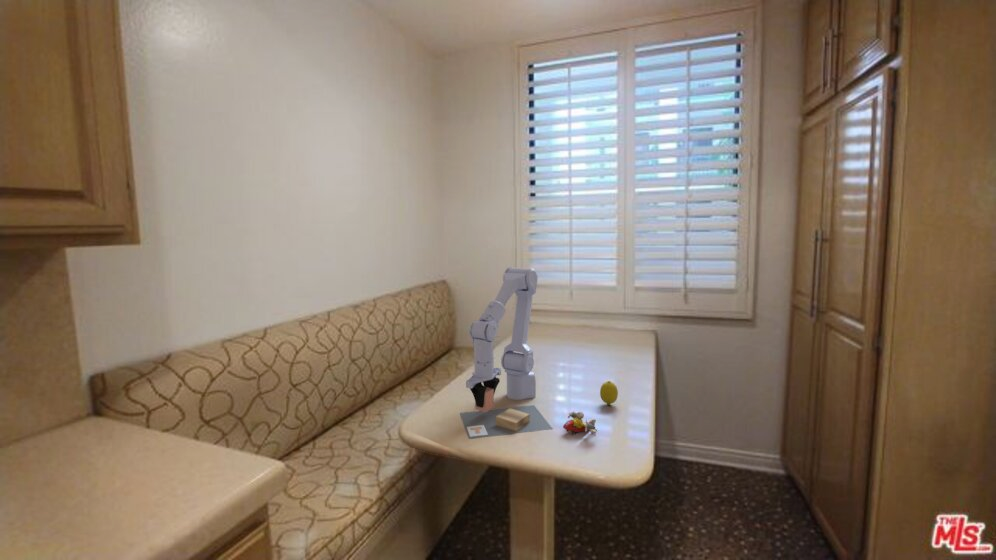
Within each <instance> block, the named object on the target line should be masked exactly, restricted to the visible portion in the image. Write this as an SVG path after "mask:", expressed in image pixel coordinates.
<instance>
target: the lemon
mask: <svg viewBox="0 0 996 560" xmlns="http://www.w3.org/2000/svg"><path fill="white" fill-rule="evenodd" d="M599 391H600V392H599V395H600V398H601V400H602V402H603V403H605V404H607V406H610V405H611V404H614V403H615V402H616V401H617V400H618V397H619V395H618V394H619V390H618V388H617V385H616V384H615V383H614V382H612V381H610V380H607V381H605V382H604V383H602V385H601V386H600V390H599Z"/></svg>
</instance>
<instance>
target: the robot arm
mask: <svg viewBox="0 0 996 560" xmlns="http://www.w3.org/2000/svg"><path fill="white" fill-rule="evenodd" d="M537 284H538V274H537V271H536V270H535V268H532V267H531V268H530V267H529V268H523V267H521V268H520V267H511V266H508V267H506V269H505V270H504V273H503V275H502V284H501V287H500V289H499V290H498V293H497V295H496V296H495V299H494V300H491V301H489V302H488V304H487V306H486V307H485V309H484V310H483V312H482V314H481V316H479V318H478V319H476V320H474V321H473V322H472V324H471V325H470V328H469V337H470V338H471V344H472V345H473V361H474V364H473V365H474V366H473V367H474V372H472V376H471V377H470V378H468V379H467V380H466V381H465V388H467V389H469V390H470V392H471V393H472V395H473V399H474V403H475V402H476V406H478V407H481V408H482V407H483V405H484V395H485V391H486V388H487V387H489V388H492V389H494V394H495V393H496V389H497V387H498V385H499V383H500V378H499V377H497V376H501V375H502V369H503V370H504V373H506V397H507V398H508V399H509V400H514V401H516V400H517V401H522V400H525V399H532V398H533V399H536V393H537V391H536V386H537V385H536V381H537V379H536V376H535V373H534V371H533V368H534V364H535V363H534V350H533V349H531V347H530V346H529V345H528V337H529V330H530V321H531V312H532V306H533V298H534V297H533V296H534V295H535V294H536V292H537V287H538V286H537ZM514 294H515V295H516V297H517V298H516V303H515V304H516V305H515V313H514V320H513V326H512V327H513V328H512V337H511V342H510V343H508V344H507V345H505V347H504V349H503V352H502V353H503V354H502V356H501V361H500V363H501V367H502V368H499V367H494V362H495V361H494V340H495V338H496V337H497V335H498V330H499V323H500V322H501V320H502V318H503V317H504V315H505V313H506V308H505V306H506V305H507V303H508V302H509V300H510V299H511V298H512V296H513V295H514Z"/></svg>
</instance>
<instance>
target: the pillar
mask: <svg viewBox="0 0 996 560" xmlns="http://www.w3.org/2000/svg"><path fill="white" fill-rule="evenodd" d="M494 400H495V393H494V389H492V388H489V387H487V388H486V391H485V395H484V405H483V407H482V408H481V407H478V406H476V402H475V401H474V405H475V406H474V408H475V409H474V410H475V411H483V412H487V411H489V410H493V409H495V401H494Z"/></svg>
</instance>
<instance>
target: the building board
mask: <svg viewBox="0 0 996 560" xmlns="http://www.w3.org/2000/svg"><path fill="white" fill-rule="evenodd" d="M510 408H511V409H514V410H517V411H521V412H524V413H528V414H530V422H529V423H528V424H526V425H525V426H523V427H522V428H520V429H519V430H517V431H514V430H511V429H508V428H505V427H502V426H499V425H496V416H498V415H500V414H501V413H503V412H505V411H506V410H508V409H510ZM459 414H460V417H461V420H462V423H463V426H464V429H465V432H466V435H467V438H468V439H469V440H471V439H472V440H473V439H481V438H489V437H496V436H497V437H498V436H506V435H512V434H514V435H515V434H522V433H529V432H531V433H532V432H538V431H547V430H553V428H554V427H552V425H550V424H549V422H548V420H547V419H545V417H544V416H543V414H542V413H541V412H540V411H539V409H538V408H537V407H536V406H535V405H534V404H533V405H531V404H530V405H522V406H515V407H514V406H513V407H504V408H493V409H491V410H489V411H487V412H483V411H480V410H475V411H466V412H459Z"/></svg>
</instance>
